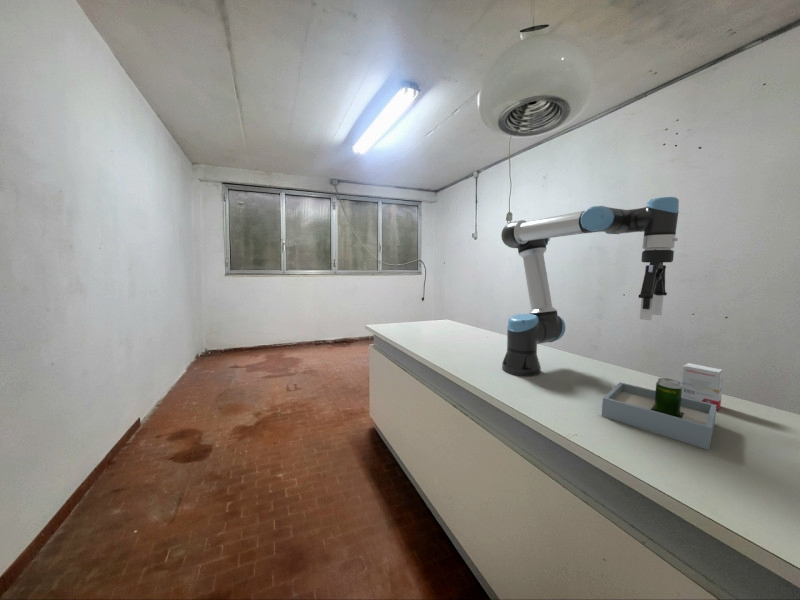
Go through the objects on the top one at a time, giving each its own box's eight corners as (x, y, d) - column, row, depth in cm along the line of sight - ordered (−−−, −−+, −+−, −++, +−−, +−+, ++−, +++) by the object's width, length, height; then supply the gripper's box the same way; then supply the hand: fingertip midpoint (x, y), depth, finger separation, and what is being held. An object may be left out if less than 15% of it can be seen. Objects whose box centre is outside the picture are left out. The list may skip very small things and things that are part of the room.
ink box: (721, 406, 93) (725, 369, 92) (717, 410, 91) (721, 372, 89) (684, 396, 101) (687, 362, 99) (679, 400, 98) (682, 365, 97)
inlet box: (601, 415, 88) (602, 397, 87) (618, 398, 99) (620, 382, 99) (708, 450, 71) (711, 428, 71) (714, 424, 83) (716, 405, 82)
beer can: (682, 429, 80) (686, 386, 79) (657, 425, 82) (661, 383, 81) (673, 419, 85) (677, 379, 84) (649, 416, 87) (653, 376, 86)
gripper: (665, 247, 82) (657, 323, 85) (681, 250, 98) (674, 314, 100) (631, 248, 88) (625, 320, 90) (652, 251, 104) (645, 311, 106)
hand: (650, 317), depth 95 cm, fingers open, 13 cm apart
